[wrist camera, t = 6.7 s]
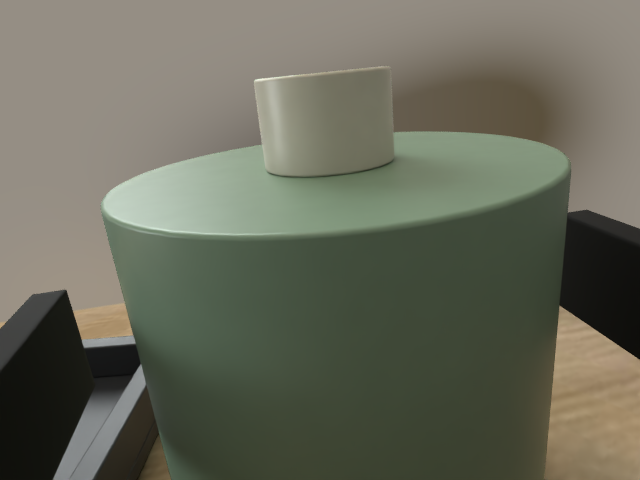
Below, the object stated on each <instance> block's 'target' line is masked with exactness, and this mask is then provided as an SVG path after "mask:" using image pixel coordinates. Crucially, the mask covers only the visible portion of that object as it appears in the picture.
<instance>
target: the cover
mask: <svg viewBox="0 0 640 480" xmlns="http://www.w3.org/2000/svg"><path fill="white" fill-rule="evenodd" d="M254 88H255V95H256V102H257V110H258V117H259V125H260V133H261V140H262V145H258V146H252V147H246V148H240V149H234V150H229V151H224V152H219V153H214V154H210V155H206V156H201V157H197V158H193V159H189V160H185V161H181V162H177V163H174V164H170V165H167V166H164V167H161V168H158V169H155V170H152V171H149V172H146V173H144V174H141V175H139V176H136V177H134V178H132V179H130V180H128V181H126V182H124V183H122V184H120V185H119V186H117V187H115V188H114V189H112V190H111V191H110V192H109V193H108V194H107V195H106V196H105V197H104V199H103V201H102V203H101V213H102V217H103V221H104V225H105V229H106V232H107V236H108V240H109V244H110V248H111V251H112V255H113V259H114V263H115V266H116V271H117V274H118V278H119V282H120V286H121V289H122V293H123V297H124V301H125V305H126V309H127V313H128V316H129V320H130V324H131V328H132V332H133V335H134V339H135V343H136V347H137V351H138V355H139V358H140V362H141V366H142V370H143V374H144V377H145V381H146V385H147V389H148V393H149V397H150V400H151V404H152V408H153V412H154V416H155V419H156V423H157V427H158V431H159V435H160V439H161V442H162V446H163V450H164V454H165V458H166V461H167V465H168V469H169V473H170V477H171V480H544V474H545V463H546V451H547V440H548V429H549V417H550V406H551V395H552V383H553V372H554V361H555V349H556V338H557V327H558V315H559V304H560V293H561V281H562V270H563V258H564V247H565V236H566V224H567V213H568V201H569V190H570V179H571V162H570V160H569V159H568V157H567V156H566V155H565V154H564V153H562V152H561V151H559V150H557V149H556V148H553V147H550V146H548V145H545V144H542V143H538V142H535V141H530V140H526V139H521V138H515V137H508V136H500V135H491V134H480V133H464V132H393V107H392V82H391V68H390V67H388V66H384V67H374V68H363V69H353V70H343V71H333V72H322V73H312V74H304V75H293V76H283V77H273V78H263V79H256V80H255V81H254Z"/></svg>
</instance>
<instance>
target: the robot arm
mask: <svg viewBox="0 0 640 480" xmlns="http://www.w3.org/2000/svg"><path fill="white" fill-rule="evenodd" d="M559 305H560V306H561V307H563V308H564V309H566V310H567V311H569V312H570V313H572V314H573V315H575V316H576V317H578V318H579V319H581V320H582V321H584V322H585V323H587V324H588V325H589V326H591V327H592V328H594V329H595V330H597V331H598V332H600V333H601V334H603V335H604V336H606V337H607V338H609V339H610V340H612V341H613V342H615V343H616V344H617V345H619V346H620V347H622V348H623V349H625V350H626V351H628V352H629V353H631V354H632V355H634V356H635V357H637V358H638V359H640V229H639V228H636V227H633V226H631V225H627V224H625V223H622V222H619V221H616V220H614V219H611V218H608V217H605V216H602V215H600V214H597V213H594V212H591V211H589V210H583V211H576V212H569V213H567V224H566V236H565V247H564V258H563V270H562V281H561V293H560V304H559ZM94 387H95V382H94V379H93V375H92V372H91V369H90V366H89V362H88V359H87V356H86V353H85V349H84V346H83V343H82V340H81V336H80V333H79V330H78V327H77V323H76V320H75V317H74V313H73V310H72V307H71V304H70V301H69V297H68V294H67V291H66V290H61V291H54V292H47V293H41V294H34V295H32V296H31V297H30V298H29V299H28V300H27V301H26V302H25V303H24V304H23V305H22V306H21V307H20V308H19V309H18V310H17V312H16V313H15V314H14V315H13V316H12V317H11V318H10V319H9V320H8V321H7V322H6V323H5V324H4V325H3V326H2V327H1V329H0V480H53V478H54V476H55V474H56V472H57V469H58V467H59V465H60V463H61V460H62V458H63V456H64V454H65V452H66V449H67V447H68V445H69V443H70V440H71V438H72V436H73V434H74V432H75V429H76V427H77V425H78V423H79V421H80V418H81V416H82V414H83V412H84V409H85V407H86V405H87V403H88V401H89V398H90V396H91V394H92V392H93V389H94Z"/></svg>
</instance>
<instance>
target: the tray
mask: <svg viewBox="0 0 640 480" xmlns="http://www.w3.org/2000/svg"><path fill="white" fill-rule="evenodd" d="M82 343H83V346H84V349H85V353H86V356H87V359H88V362H89V366H90V369H91V372H92V375H93V379H94V382H95V387H94V389H93V392H92V394H91V396H90V398H89V401H88V403H87V405H86V407H85V409H84V412H83V414H82V416H81V418H80V421H79V423H78V425H77V427H76V429H75V432H74V434H73V436H72V438H71V440H70V443H69V445H68V447H67V449H66V452H65V454H64V456H63V458H62V460H61V463H60V465H59V467H58V469H57V472H56V474H55V476H54V478H53V480H137V478H138V476H139V474H140V472H141V469H142V467H143V465H144V463H145V461H146V458H147V456H148V454H149V452H150V450H151V447H152V445H153V443H154V441H155V439H156V436H157V434H158V432H159V431H158V427H157V423H156V419H155V416H154V412H153V408H152V404H151V400H150V397H149V393H148V389H147V385H146V381H145V377H144V374H143V370H142V366H141V362H140V358H139V355H138V351H137V347H136V343H135V339H134V336H123V337H111V338H98V339H86V340H82Z"/></svg>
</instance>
